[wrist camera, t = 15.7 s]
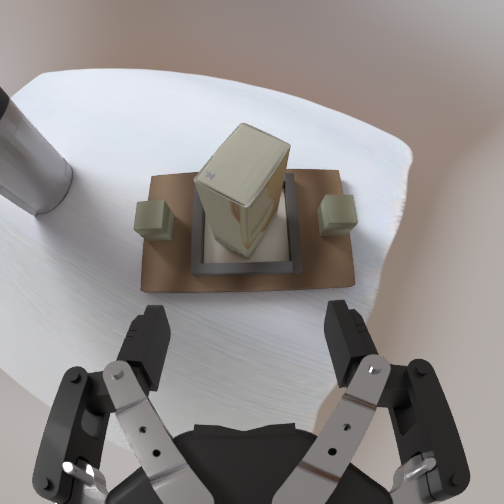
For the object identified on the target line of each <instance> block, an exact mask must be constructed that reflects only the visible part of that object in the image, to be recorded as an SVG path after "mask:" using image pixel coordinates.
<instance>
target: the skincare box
mask: <svg viewBox="0 0 504 504" xmlns="http://www.w3.org/2000/svg"><path fill="white" fill-rule="evenodd" d="M290 146H291V145H290V144H288V143H286V142H284V141H282V140H280V139H278V138H276V137H274V136H272V135H270V134H268V133H266V132H264V131H262V130H260V129H258V128H255V127H253V126H251V125H248V124H246V123H241V124H240V125H239V126H238V127H237V128H236V129H235V130H234V131H233V132H232V134H231V135H230V136H229V137H228V138H227V139H226V140H225V142H224V143H223V144H222V145H221V146H220V147H219V148H218V149H217V151H216V152H215V153H214V155H213V156H212V157H211V158H210V160H209V161H208V162H207V163H206V164H205V166H204V167H203V168H202V169H201V171H200V172H199V173H198V174H197V176H196V177H195V178H194V183H195V186H196V188H197V191H198V194H199V197H200V200H201V202H202V205H203V208H204V211H205V213H206V216H207V219H208V222H209V225H210V227H211V230H212V233H213V236H214V238H215V240H216V241H217V242H219V243H221V244H222V245H224V246H225V247H227V248H229V249H230V250H232V251H233V252H235V253H237V254H239V255H241V256H242V257H244V258H246V259H249V258H250V256H251V255H252V254H253V252H254V251H255V249H256V248H257V246H258V245H259V243H260V242H261V240H262V239H263V237H264V235H265V234H266V232H267V230H268V229H269V227H270V225H271V224H272V222H273V220H274V218H275V217H276V215H277V211H278V206H279V201H280V196H281V191H282V186H283V181H284V176H285V171H286V166H287V161H288V156H289V151H290Z"/></svg>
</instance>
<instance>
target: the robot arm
mask: <svg viewBox="0 0 504 504" xmlns="http://www.w3.org/2000/svg"><path fill="white" fill-rule="evenodd" d="M71 180H72V168H71V166H70V165H69V163H68V162H67V161H66V160H65V159H64V158H63V157H62V156H61V155H60V154H59V153H58V152H57V151H56V150H55V149H54V147H53V146H52V145H51V144H50V143H49V142H48V141H47V140H46V139H45V138H44V137H43V136H42V134H41V133H40V132H39V131H38V130H37V129H36V128H35V127H34V126H33V124H32V123H31V122H30V121H29V120H28V119H27V118H26V116H25V115H24V114H23V113H22V112H21V111H20V110H19V108H18V107H17V106H16V105H15V104H14V102H13V101H12V100H11V99H10V98H9V97H8V95H7V94H6V93H5V92H4V91H3V89H2V88H1V87H0V194H1V195H2V196H4V197H5V198H7V199H8V200H10V201H11V202H13V203H14V204H16V205H17V206H19V207H20V208H22V209H23V210H25V211H27V212H28V213H30V214H31V215H33V216H35V215H36V214H38V213H46V212H49V211H50V210H52V209H53V208H55V207H56V206H57V205H58V204H59V203H60V202H61V201H62V199H63V198H64V196H65V195H66V193H67V191H68V189H69V187H70V184H71ZM324 334H325V338H326V342H327V345H328V349H329V352H330V356H331V359H332V363H333V367H334V370H335V374H336V378H337V382H338V385H339V388H342V387H347V390H346V392H345V394H344V395H343V396H342V398H341V400H340V401H339V403H338V405H337V406H336V408H335V410H334V412H333V413H332V415H331V417H330V418H329V420H328V421H327V423H326V425H325V426H324V428H323V430H322V431H321V433H320V434H319V436H316V435H314V434H312V433H310V432H307V431H304V430H300V429H295V423H289V424H276V425H268V426H264V427H260V428H256V429H252V430H248V431H240V430H235V429H231V428H227V427H222V426H217V425H196V424H194V430H193V431H188V432H185V433H182V434H180V435H178V436H176V437H174V438H173V437H172V435H171V434H170V432H169V431H168V429H167V428H166V426H165V425H164V423H163V422H162V420H161V418H160V417H159V415H158V413H157V412H156V410H155V408H154V407H153V405H152V403H151V401H150V400H149V398H148V395H149V391H157V390H158V386H159V381H160V377H161V373H162V369H163V365H164V361H165V357H166V353H167V349H168V345H169V341H170V335H171V332H170V326H169V323H168V320H167V316H166V313H165V309H164V307H163V306H162V305H148V306H147V307H146V310H145V312H144V315H138V316H137V317H136V318H135V319H134V320H133V321H132V323H131V325H130V328H129V331H128V332H127V335H126V338H125V340H124V342H123V344H122V347H121V349H120V352H119V355H118V357H117V360H116V361H114V362H111V363H110V364H108V365H107V366H106V367H105V369H104V371H100V372H94V373H87V371H86V370H85V369H84V368H82V367H79V366H76V367H72V368H70V369H69V370H67V372H66V373H65V374H64V376H63V379H62V381H61V384H60V386H59V389H58V392H57V394H56V397H55V400H54V403H53V406H52V408H51V412H50V414H49V417H48V420H47V424H46V427H45V430H44V433H43V437H42V440H41V444H40V448H39V452H38V456H37V459H36V464H35V468H34V473H33V478H32V483H33V487H34V489H35V491H36V492H37V494H39V495H40V496H41V497H43V498H45V499H47V500H50V501H52V502H54V503H55V504H437V503H440V502H442V501H445V500H447V499H450V498H452V497H454V496H456V495H459V494H460V493H462V492H463V491H464V490H465V489H466V488H467V486H468V484H469V481H470V471H469V467H468V464H467V460H466V456H465V453H464V449H463V446H462V443H461V440H460V436H459V433H458V430H457V428H456V425H455V422H454V419H453V416H452V413H451V411H450V408H449V405H448V403H447V400H446V397H445V395H444V392H443V390H442V388H441V385H440V383H439V380H438V378H437V376H436V373H435V371H434V369H433V367H432V365H431V364H430V363H429V362H427V361H426V360H423V359H415V360H412V361H411V362H410V363H409V365H408V366H400V365H392V364H389V362H388V361H387V360H386V359H385V358H384V357H382V356H379V354H378V352H377V350H376V348H375V345H374V343H373V341H372V338H371V336H370V334H369V332H368V330H367V327H366V325H365V323H364V320H363V318H362V316H361V315H360V314H359V313H358V312H357V311H356V310H355V309H351V310H349V309H348V307H347V304H346V302H345V300H334V301H329V302H328V306H327V311H326V316H325V322H324ZM377 407H386V408H388V410H389V414H390V417H391V421H392V425H393V429H394V433H395V437H396V442H397V446H398V451H399V455H400V460H401V466H400V467H399V468H398V469H397V470H396V472H395V474H394V478H393V487H392V489H391V491H390V492H388V491H387V490H386V489H385V488H384V487H383V486H381V485H380V484H378V483H377V482H376V481H374V480H373V479H371V478H370V477H369V476H367V475H366V474H365V473H363V472H362V471H361V470H359V469H358V468H357V467H355V466H354V465H353V464H352V463H350V461H351V459H352V457H353V456H354V454H355V452H356V450H357V448H358V446H359V445H360V442H361V441H362V439H363V437H364V434H365V432H366V430H367V429H368V427H369V424H370V422H371V420H372V418H373V416H374V413H375V411H376V408H377ZM113 412H115V414H116V417H117V419H118V421H119V423H120V426H121V428H122V430H123V432H124V434H125V436H126V438H127V440H128V442H129V444H130V446H131V448H132V450H133V451H134V453H135V455H136V457H137V458H138V461H139V462H140V464H141V467H139V468H138V469H137V470H136V471H135V472H134V473H132V474H131V475H130V476H129V477H127V478H126V479H125V480H124V481H122V482H121V483H120V484H119V485H118V486H116V487H115V488H114V489H112V490H111V491H110V492H109V493H108V491H107V489H106V480H105V477H104V475H103V474H102V473H101V472H100V471H99V468H100V462H101V455H102V450H103V444H104V440H105V435H106V430H107V426H108V421H109V417H110V413H113Z"/></svg>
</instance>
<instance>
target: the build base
mask: <svg viewBox="0 0 504 504" xmlns="http://www.w3.org/2000/svg"><path fill="white" fill-rule="evenodd" d="M198 173H199V172H192V173H179V174H168V175H158V176H152V177H151V183H150V190H149V197H148V201H143V202H137V207H136V215H135V223H134V230H135V231H136V232H137V233H138V234H140V235H141V236H142V237H143V238H144V243H143V256H142V272H141V291H143V292H158V293H199V292H252V291H281V290H304V289H323V288H339V287H351V286H353V285H355V276H354V266H353V257H352V249H351V241H350V234H349V232H350V231H351V230H352V228H353V227H354V226H355V225H356V224H357V223H358V220H357V214H356V208H355V203H354V197H353V195H343V190H342V185H341V179H340V174H339V170H319V169H286V171H285V176H284V181H283V186H282V191H281V196H280V201H279V206H278V211H277V215H276V217H275V218H274V220H273V222H272V224H271V225H270V227H269V229H268V230H267V232H266V234H265V235H264V237H263V239H262V240H261V242H260V243H259V245H258V246H257V248H256V249H255V251H254V252H253V254H252V255H251V256H250V258H249V259H246V258H244V257H242V256H241V255H239V254H237V253H235V252H233V251H232V250H230V249H229V248H227V247H225V246H224V245H222V244H221V243H219V242H217V241H216V240H215V238H214V236H213V233H212V230H211V227H210V225H209V222H208V219H207V216H206V213H205V211H204V208H203V205H202V202H201V200H200V197H199V194H198V191H197V188H196V186H195V183H194V178H195V177H196V176H197V174H198Z"/></svg>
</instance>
